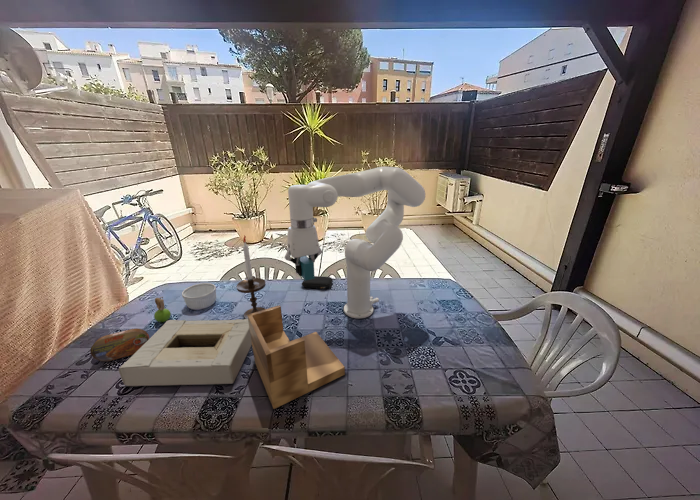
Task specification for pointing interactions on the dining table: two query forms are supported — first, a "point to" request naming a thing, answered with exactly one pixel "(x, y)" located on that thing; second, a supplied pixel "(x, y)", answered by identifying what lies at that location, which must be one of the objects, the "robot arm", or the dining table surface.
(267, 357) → the shelf
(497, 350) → the dining table surface
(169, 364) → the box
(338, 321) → the dining table surface
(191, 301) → the ramekin
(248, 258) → the candlestick
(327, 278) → the carrying case
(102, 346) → the tin
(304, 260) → the teal rectangular block
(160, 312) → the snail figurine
